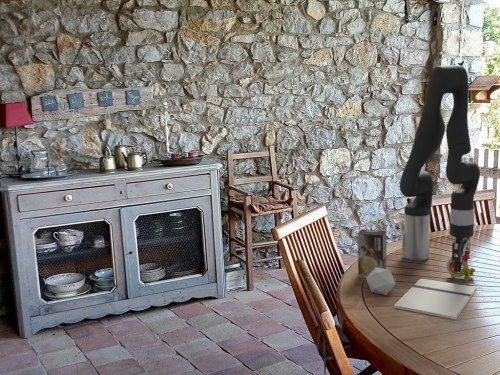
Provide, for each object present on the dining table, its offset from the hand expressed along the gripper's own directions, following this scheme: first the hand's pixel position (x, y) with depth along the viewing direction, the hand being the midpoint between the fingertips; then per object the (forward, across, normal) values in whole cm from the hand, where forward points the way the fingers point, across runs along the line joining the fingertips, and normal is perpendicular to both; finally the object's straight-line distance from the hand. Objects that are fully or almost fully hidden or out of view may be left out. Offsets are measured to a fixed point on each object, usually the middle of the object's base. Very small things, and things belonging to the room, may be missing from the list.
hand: (460, 268), depth 188 cm
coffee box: (+4, +11, -27) cm, 29 cm away
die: (+4, +24, -19) cm, 31 cm away
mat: (+4, +21, -2) cm, 21 cm away
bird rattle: (+4, 0, 0) cm, 4 cm away
